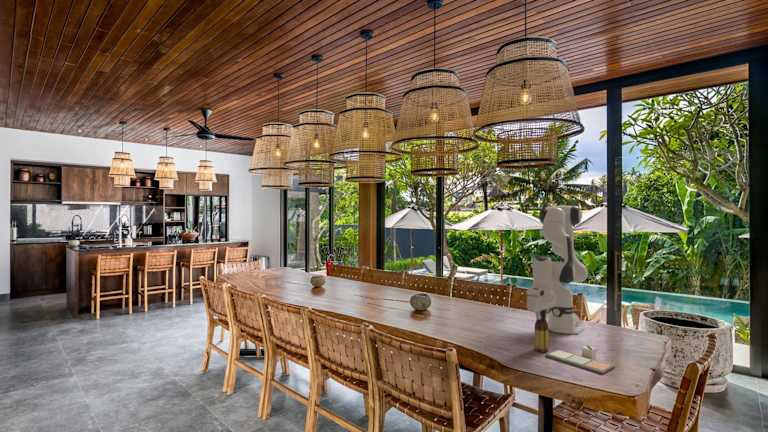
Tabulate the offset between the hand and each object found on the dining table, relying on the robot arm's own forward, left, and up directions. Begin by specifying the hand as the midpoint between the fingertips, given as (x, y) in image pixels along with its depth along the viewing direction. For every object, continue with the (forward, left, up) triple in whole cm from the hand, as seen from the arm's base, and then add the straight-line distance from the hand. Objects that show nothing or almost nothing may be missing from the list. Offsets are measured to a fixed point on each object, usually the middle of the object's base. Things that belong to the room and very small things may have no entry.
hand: (541, 318), depth 187 cm
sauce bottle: (0, 0, -16) cm, 16 cm away
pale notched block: (-10, +18, -16) cm, 26 cm away
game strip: (0, +18, -16) cm, 24 cm away
